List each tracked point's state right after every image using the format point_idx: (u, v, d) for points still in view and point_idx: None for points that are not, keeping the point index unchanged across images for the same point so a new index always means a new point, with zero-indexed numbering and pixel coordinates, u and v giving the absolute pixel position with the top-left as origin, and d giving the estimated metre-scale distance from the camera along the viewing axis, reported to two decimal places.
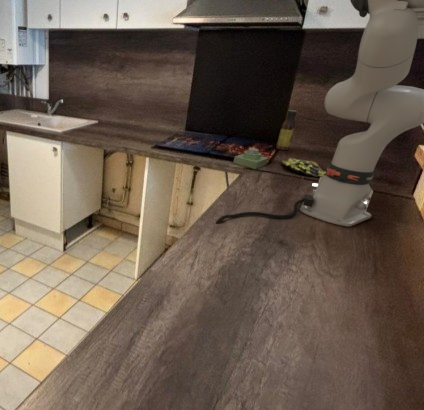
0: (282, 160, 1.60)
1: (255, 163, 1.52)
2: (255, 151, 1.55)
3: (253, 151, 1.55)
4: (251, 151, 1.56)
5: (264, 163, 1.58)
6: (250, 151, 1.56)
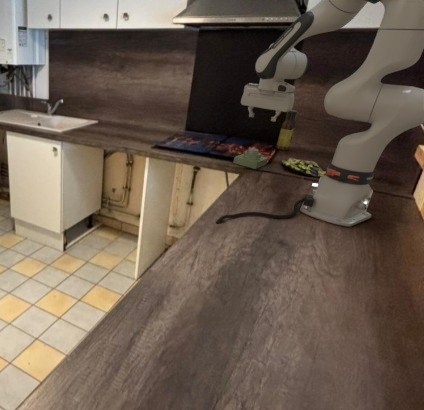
0: (282, 160, 1.60)
1: (255, 163, 1.52)
2: (255, 151, 1.55)
3: (253, 151, 1.55)
4: (251, 151, 1.56)
5: (264, 163, 1.58)
6: (250, 151, 1.56)
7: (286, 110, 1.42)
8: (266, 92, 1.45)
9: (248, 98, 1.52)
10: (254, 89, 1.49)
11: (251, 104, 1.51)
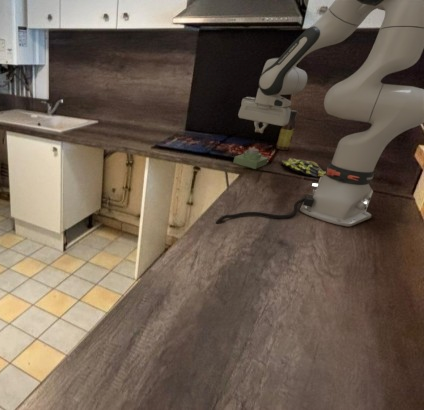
0: (282, 160, 1.60)
1: (255, 163, 1.52)
2: (255, 151, 1.55)
3: (253, 151, 1.55)
4: (251, 151, 1.56)
5: (264, 163, 1.58)
6: (250, 151, 1.56)
7: (282, 124, 1.45)
8: (263, 106, 1.47)
9: (246, 112, 1.54)
10: (251, 103, 1.52)
11: (248, 117, 1.54)
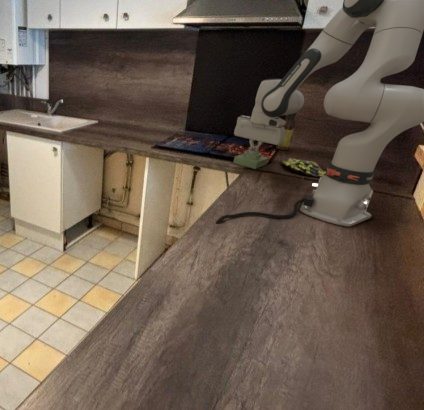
0: (282, 160, 1.60)
1: (255, 163, 1.52)
2: (255, 152, 1.56)
3: (253, 152, 1.56)
4: (251, 152, 1.56)
5: (264, 163, 1.58)
6: (250, 152, 1.57)
7: (277, 143, 1.48)
8: (258, 125, 1.50)
9: (241, 130, 1.57)
10: (246, 121, 1.55)
11: (244, 135, 1.57)
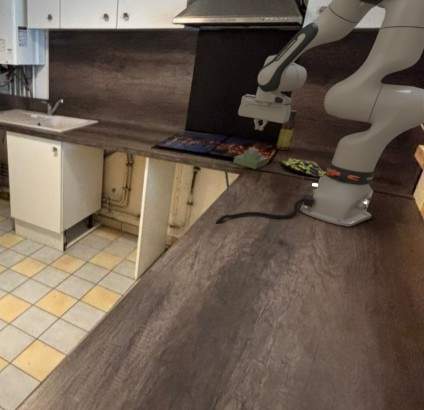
0: (282, 160, 1.60)
1: (255, 163, 1.52)
2: (255, 151, 1.55)
3: (253, 151, 1.55)
4: (251, 151, 1.56)
5: (264, 163, 1.58)
6: (250, 151, 1.56)
7: (283, 121, 1.44)
8: (263, 103, 1.47)
9: (246, 109, 1.54)
10: (251, 100, 1.51)
11: (248, 115, 1.53)
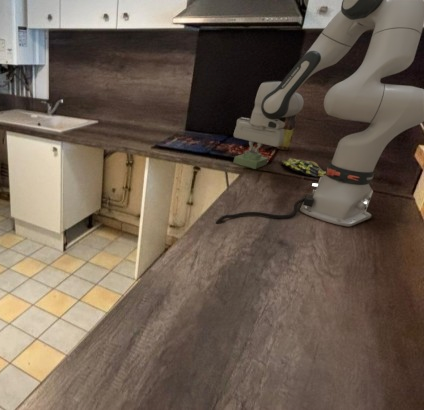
0: (282, 160, 1.60)
1: (255, 163, 1.52)
2: None
3: None
4: None
5: (264, 163, 1.58)
6: None
7: (276, 145, 1.48)
8: (257, 127, 1.51)
9: (241, 132, 1.58)
10: (246, 123, 1.55)
11: (243, 137, 1.57)
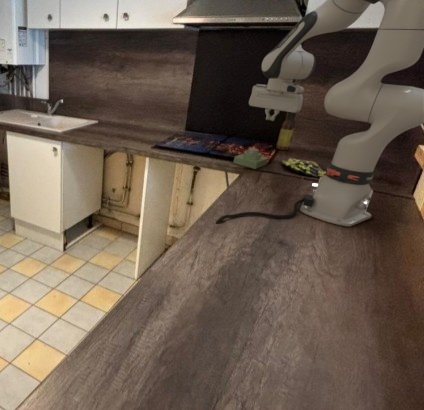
0: (282, 160, 1.60)
1: (255, 163, 1.52)
2: (255, 151, 1.55)
3: (253, 151, 1.55)
4: (251, 151, 1.56)
5: (264, 163, 1.58)
6: (250, 151, 1.56)
7: (295, 111, 1.42)
8: (275, 93, 1.45)
9: (257, 99, 1.52)
10: (262, 90, 1.49)
11: (259, 105, 1.52)
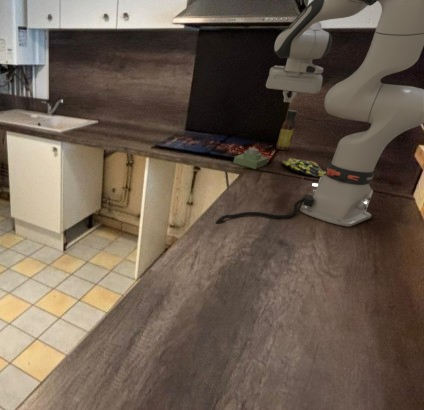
0: (282, 160, 1.60)
1: (255, 163, 1.52)
2: (255, 151, 1.55)
3: (253, 151, 1.55)
4: (251, 151, 1.56)
5: (264, 163, 1.58)
6: (250, 151, 1.56)
7: (314, 92, 1.40)
8: (293, 74, 1.42)
9: (274, 81, 1.49)
10: (280, 71, 1.47)
11: (277, 87, 1.49)
